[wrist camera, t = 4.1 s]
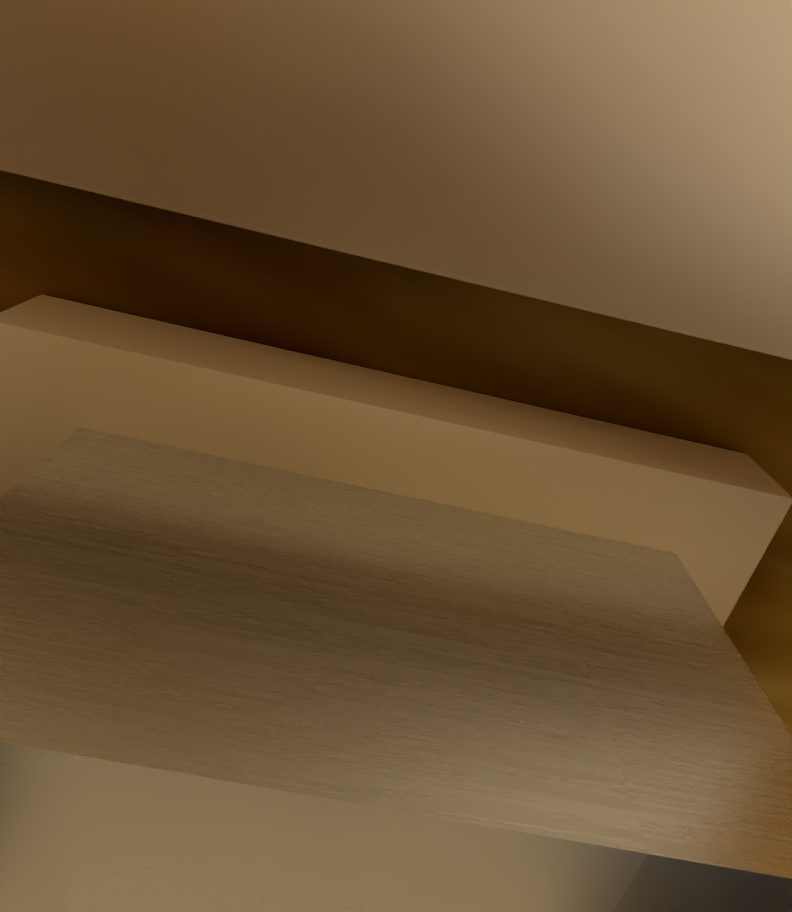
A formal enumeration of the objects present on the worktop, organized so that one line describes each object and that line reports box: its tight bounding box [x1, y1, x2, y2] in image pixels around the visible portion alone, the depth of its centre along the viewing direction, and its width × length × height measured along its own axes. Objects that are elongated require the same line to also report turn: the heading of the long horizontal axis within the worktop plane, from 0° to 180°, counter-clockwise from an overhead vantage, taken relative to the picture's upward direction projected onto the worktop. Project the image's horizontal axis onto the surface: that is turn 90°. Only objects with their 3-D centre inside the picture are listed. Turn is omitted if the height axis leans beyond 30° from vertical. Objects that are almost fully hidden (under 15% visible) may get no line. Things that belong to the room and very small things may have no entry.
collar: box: [0, 427, 792, 912], centre depth 7 cm, size 7×7×4 cm
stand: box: [0, 294, 792, 626], centre depth 9 cm, size 9×9×4 cm
